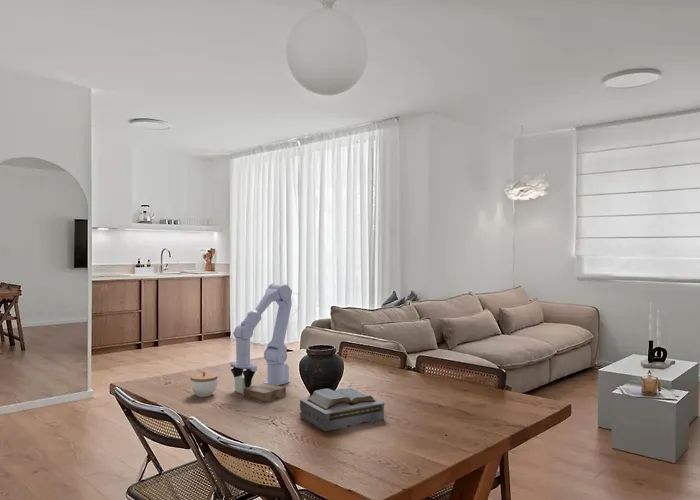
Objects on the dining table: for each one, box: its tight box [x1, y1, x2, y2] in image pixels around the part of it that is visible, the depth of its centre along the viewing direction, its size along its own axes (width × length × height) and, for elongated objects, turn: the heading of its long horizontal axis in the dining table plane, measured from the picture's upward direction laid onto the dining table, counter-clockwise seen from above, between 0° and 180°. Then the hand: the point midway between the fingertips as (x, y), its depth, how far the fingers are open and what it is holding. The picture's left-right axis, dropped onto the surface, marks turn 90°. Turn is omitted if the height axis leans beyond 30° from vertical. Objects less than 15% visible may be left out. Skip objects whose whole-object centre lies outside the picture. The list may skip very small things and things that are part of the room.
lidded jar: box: [190, 371, 218, 398], centre depth 228 cm, size 11×11×9 cm
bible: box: [299, 387, 385, 432], centre depth 197 cm, size 23×27×10 cm
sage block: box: [234, 374, 253, 394], centre depth 234 cm, size 5×5×6 cm
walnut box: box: [242, 382, 287, 403], centre depth 225 cm, size 12×12×4 cm
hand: (243, 385), depth 234 cm, fingers open, 5 cm apart
